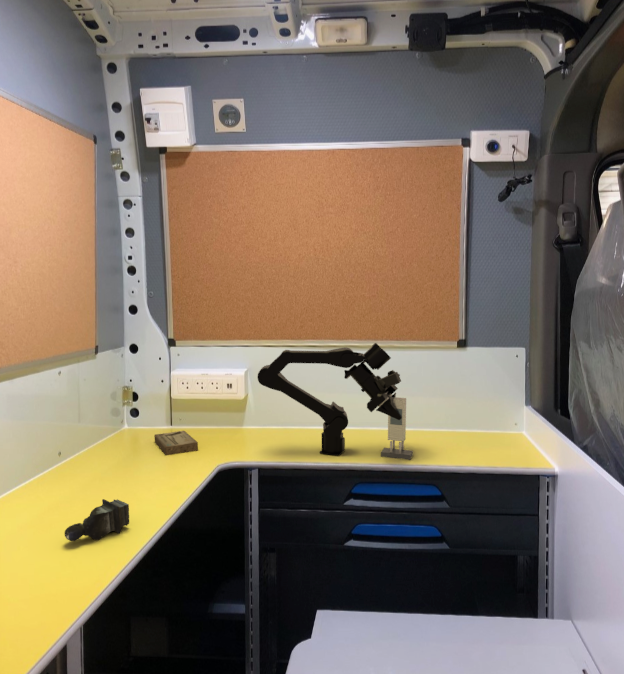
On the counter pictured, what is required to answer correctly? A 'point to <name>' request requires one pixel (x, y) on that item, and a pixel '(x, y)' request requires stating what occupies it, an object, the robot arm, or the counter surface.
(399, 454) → the dark grey pegged block
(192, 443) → the box
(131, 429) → the counter surface
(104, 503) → the dark statue fragment
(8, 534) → the counter surface
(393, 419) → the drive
